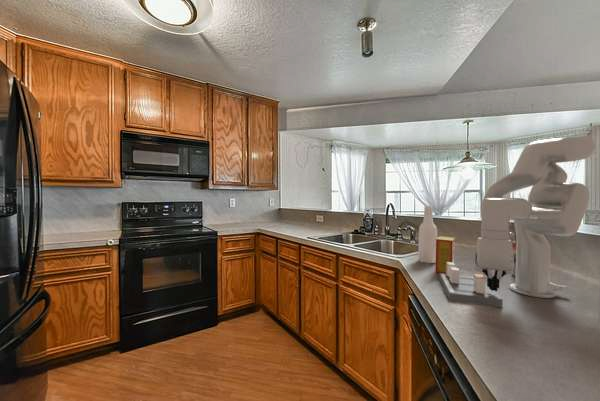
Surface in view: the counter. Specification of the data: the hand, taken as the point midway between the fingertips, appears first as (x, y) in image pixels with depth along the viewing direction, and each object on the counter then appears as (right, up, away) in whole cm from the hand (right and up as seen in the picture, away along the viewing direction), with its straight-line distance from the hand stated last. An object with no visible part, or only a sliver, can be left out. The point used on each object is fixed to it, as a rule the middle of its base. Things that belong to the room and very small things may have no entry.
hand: (492, 289), depth 88 cm
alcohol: (+3, -3, +53) cm, 53 cm away
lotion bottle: (+33, -4, +29) cm, 44 cm away
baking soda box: (+3, -4, +34) cm, 35 cm away
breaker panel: (-3, -4, +10) cm, 11 cm away
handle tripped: (-4, -1, +2) cm, 4 cm away
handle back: (-4, -1, +19) cm, 19 cm away
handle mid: (-6, -1, +11) cm, 13 cm away
